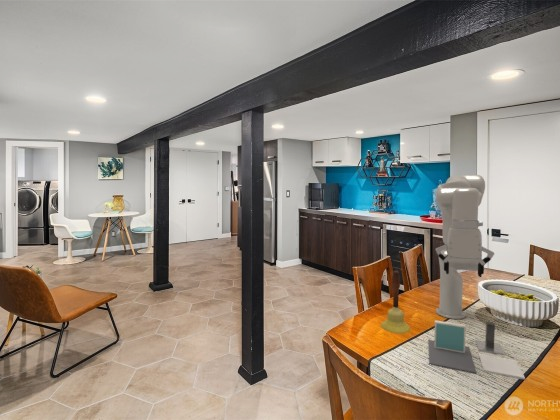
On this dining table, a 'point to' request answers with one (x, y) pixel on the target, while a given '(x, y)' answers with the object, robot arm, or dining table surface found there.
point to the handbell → (395, 311)
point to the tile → (450, 336)
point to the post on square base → (490, 341)
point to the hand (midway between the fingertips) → (463, 274)
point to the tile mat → (451, 358)
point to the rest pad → (501, 366)
